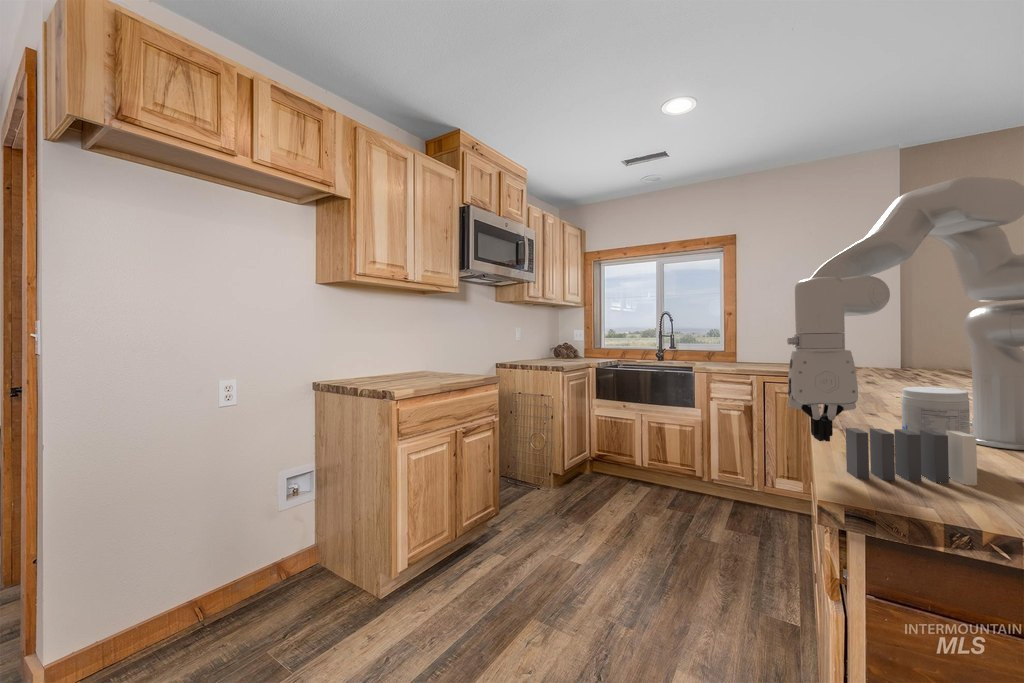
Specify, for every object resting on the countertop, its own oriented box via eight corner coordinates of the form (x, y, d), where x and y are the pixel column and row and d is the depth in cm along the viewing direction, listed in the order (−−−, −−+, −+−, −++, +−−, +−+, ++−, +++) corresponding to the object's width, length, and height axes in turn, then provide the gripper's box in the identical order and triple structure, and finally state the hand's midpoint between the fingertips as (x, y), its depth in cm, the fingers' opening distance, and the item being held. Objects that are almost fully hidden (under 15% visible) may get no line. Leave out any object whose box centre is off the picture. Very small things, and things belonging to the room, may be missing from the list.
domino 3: (895, 474, 78) (894, 429, 78) (907, 474, 78) (906, 429, 78) (908, 481, 74) (907, 434, 74) (921, 482, 74) (920, 434, 74)
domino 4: (920, 475, 77) (919, 429, 77) (933, 476, 77) (932, 430, 77) (935, 483, 73) (934, 435, 73) (948, 483, 73) (947, 435, 73)
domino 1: (846, 471, 81) (845, 427, 81) (857, 471, 80) (856, 428, 80) (857, 478, 77) (856, 432, 77) (869, 479, 76) (868, 433, 76)
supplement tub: (897, 454, 90) (896, 385, 90) (960, 459, 85) (958, 387, 85) (909, 466, 82) (907, 391, 82) (979, 473, 77) (977, 393, 77)
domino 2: (870, 472, 79) (869, 428, 79) (882, 473, 79) (881, 428, 79) (882, 480, 75) (881, 433, 75) (895, 480, 75) (894, 433, 75)
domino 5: (946, 476, 76) (945, 430, 76) (959, 477, 76) (958, 430, 75) (963, 484, 72) (962, 436, 72) (977, 485, 72) (976, 436, 71)
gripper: (780, 344, 78) (782, 442, 79) (878, 342, 74) (880, 446, 74) (769, 343, 86) (771, 433, 86) (857, 341, 81) (859, 436, 81)
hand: (821, 439), depth 80 cm, fingers closed
